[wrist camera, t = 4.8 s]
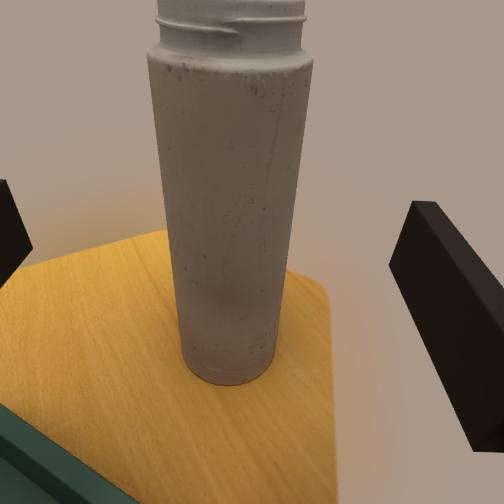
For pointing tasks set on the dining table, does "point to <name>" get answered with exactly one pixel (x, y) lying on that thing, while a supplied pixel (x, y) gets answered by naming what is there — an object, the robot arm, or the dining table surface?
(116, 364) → the dining table surface
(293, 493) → the dining table surface
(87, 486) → the box
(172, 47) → the thermos bottle
